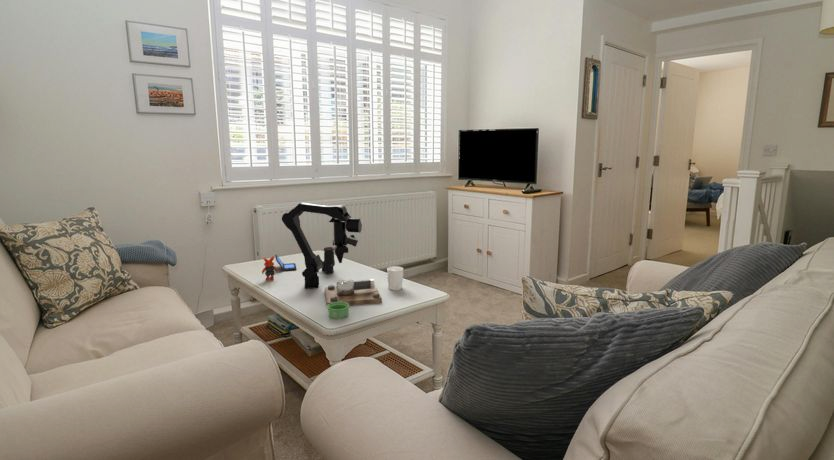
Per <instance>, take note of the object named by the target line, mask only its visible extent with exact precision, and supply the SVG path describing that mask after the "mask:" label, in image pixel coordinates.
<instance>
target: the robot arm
mask: <svg viewBox="0 0 834 460" xmlns="http://www.w3.org/2000/svg"><path fill="white" fill-rule="evenodd" d="M303 213H314V214H320V215H326V216H328V217H331V218H330V220H329V221H328V222H329V223H333V239H332V241H331V242H332V243H331V244H332V246H334V247H333V248H334V255H335V256H336V259H337V260H338V263H339V264H342V263H343V259H344V254H348V253H349V247H348V245H350V246H353V247H357V245H358V242H359V239H358V238H356V237H355V234H350V235H348V234H347V232H348V233H362V228H363V227H362V226H363V224H362V220H361V218H360V217H357V218H356V217H355V218H352V216H351V215H350V213H349V212H348V210H347V208H346V206H345V205H344V204H333V205H325V204H324V205H323V204H316V203H308V202H304V201H303V202H299V203H298V204H297V205H296V206H295V207H294V208H292V209H291V210H289V211H287V212H285V213H283V214H282V216H281V221H282V223H283V224H284V226H285V227H286V228H287V229H288V230H290V231H291V233H292V236H293V237H294V239H295V241H296V243H297V246H298V247H299V250H300V252H301V253H302V255H303V257H304V265H305V269H304V270H303V271H302V272H301V275H302V277H303V278H304V289H317V288H319V286H320V276H319V275H318V273H319V272H320V270H322V261H323V260H322V258H321V256H320V254H317V255H316V254H315V253H314V252H313V250H312V248H311V245H310V243H309V242H308V240H307V238H306V235H305V233H304V232H303V229H302V228H301V227H302V226H301V220H300V216H301V215H303Z"/></svg>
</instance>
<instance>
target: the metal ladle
mask: <svg viewBox="0 0 834 460" xmlns="http://www.w3.org/2000/svg"><path fill="white" fill-rule="evenodd" d="M374 284H375V279H374V278H370V279H359V280H352V279H340V280H337V281H336V287H337V294H338V295H343V296H346V295H352V294H354V290H362V289H374Z"/></svg>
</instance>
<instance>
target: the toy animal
mask: <svg viewBox="0 0 834 460" xmlns="http://www.w3.org/2000/svg"><path fill="white" fill-rule="evenodd" d="M262 259H263V261H264V263H263V265H264V267H263V269H262V271H261V273H262V275H264V274H265V275H264V276H266V277H265V281H268V282H269V281H274V279H275V278H274V275H275V272H278V268H277V267H276V266H274V265H275V263H274V262H273V260H275V259H276V256H272V257H270V258H269V259H267V258H265V257H263V258H262Z"/></svg>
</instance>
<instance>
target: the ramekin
mask: <svg viewBox="0 0 834 460" xmlns="http://www.w3.org/2000/svg"><path fill="white" fill-rule="evenodd" d="M326 306H327V305H326ZM349 308H350V305H349V304H348V303H346V302H333V303H330V304H328V306H327V311H328V312H327V313H328V317H330V318H331V319H334V320H335V319H344V318H347V317H348V315H349Z"/></svg>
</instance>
